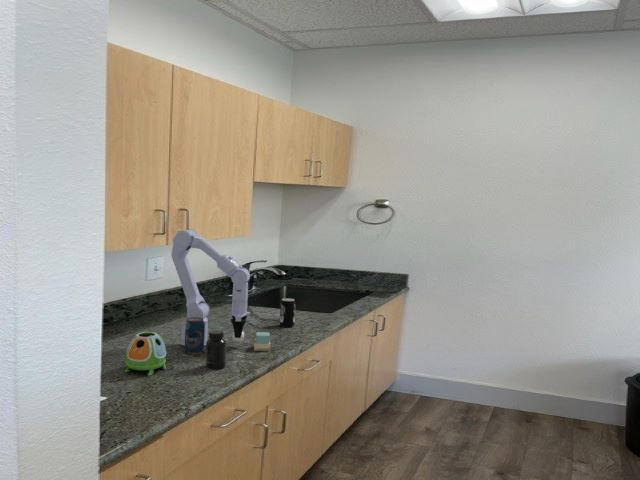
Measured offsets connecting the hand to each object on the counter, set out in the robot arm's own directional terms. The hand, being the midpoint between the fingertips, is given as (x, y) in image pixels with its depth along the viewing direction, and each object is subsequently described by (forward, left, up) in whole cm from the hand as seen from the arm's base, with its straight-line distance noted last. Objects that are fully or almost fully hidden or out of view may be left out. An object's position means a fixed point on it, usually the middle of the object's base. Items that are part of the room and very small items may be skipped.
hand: (238, 335), depth 225 cm
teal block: (+6, -7, -2) cm, 10 cm away
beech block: (+6, -7, -5) cm, 10 cm away
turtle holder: (-40, 0, -5) cm, 40 cm away
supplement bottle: (-22, -13, -5) cm, 26 cm away
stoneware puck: (0, 0, -2) cm, 2 cm away
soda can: (-16, +6, -5) cm, 18 cm away
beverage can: (+40, +12, -5) cm, 42 cm away
